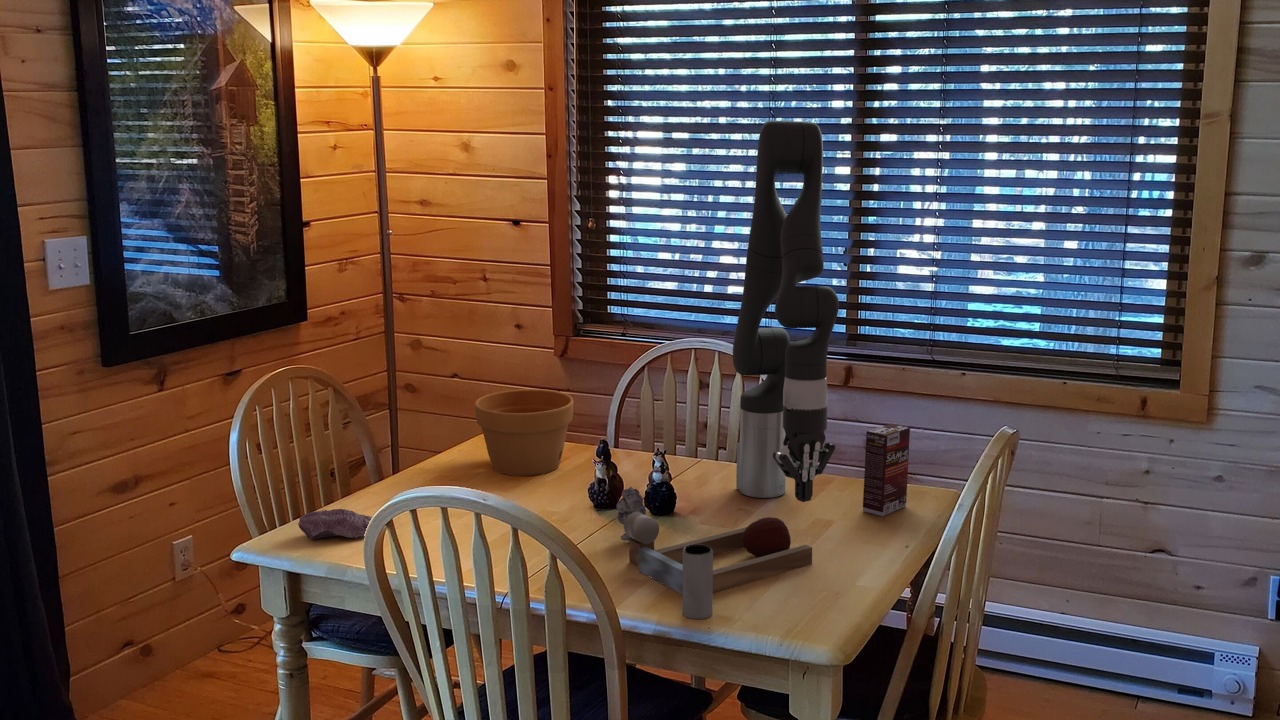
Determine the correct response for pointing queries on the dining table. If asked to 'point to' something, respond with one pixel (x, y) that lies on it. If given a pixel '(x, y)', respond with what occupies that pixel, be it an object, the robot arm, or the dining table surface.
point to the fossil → (334, 523)
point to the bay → (670, 559)
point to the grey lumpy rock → (629, 506)
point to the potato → (766, 537)
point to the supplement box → (886, 469)
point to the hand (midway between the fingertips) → (803, 500)
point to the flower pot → (524, 429)
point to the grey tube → (697, 581)
